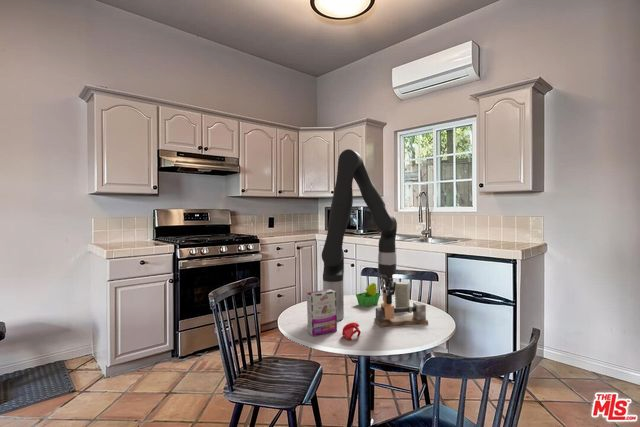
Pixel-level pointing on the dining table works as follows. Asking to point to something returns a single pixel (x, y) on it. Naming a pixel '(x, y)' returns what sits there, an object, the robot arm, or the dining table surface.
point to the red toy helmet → (350, 330)
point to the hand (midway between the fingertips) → (387, 302)
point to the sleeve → (387, 308)
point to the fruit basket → (368, 296)
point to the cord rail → (414, 319)
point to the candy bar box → (321, 312)
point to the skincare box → (401, 294)
